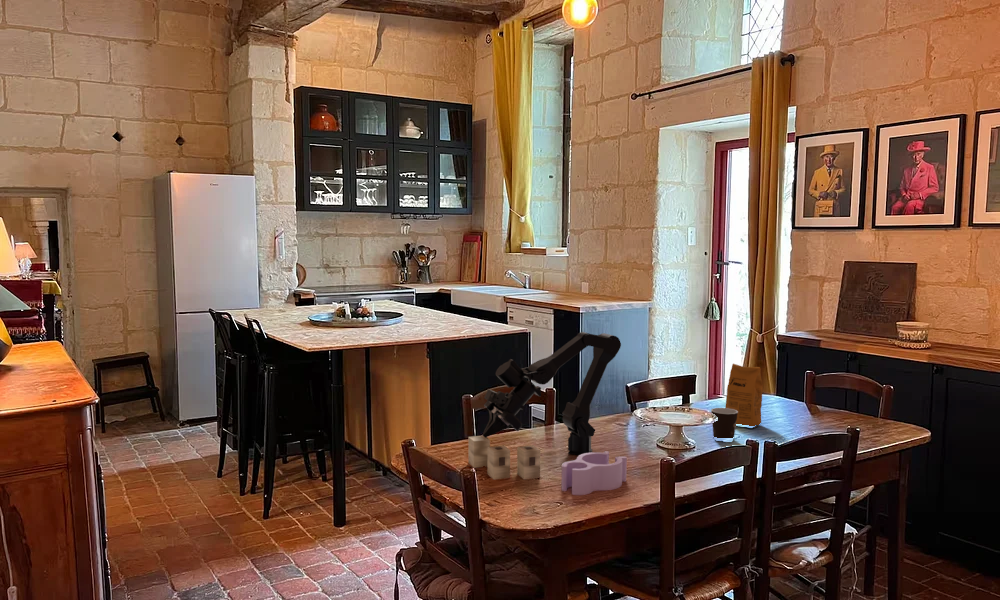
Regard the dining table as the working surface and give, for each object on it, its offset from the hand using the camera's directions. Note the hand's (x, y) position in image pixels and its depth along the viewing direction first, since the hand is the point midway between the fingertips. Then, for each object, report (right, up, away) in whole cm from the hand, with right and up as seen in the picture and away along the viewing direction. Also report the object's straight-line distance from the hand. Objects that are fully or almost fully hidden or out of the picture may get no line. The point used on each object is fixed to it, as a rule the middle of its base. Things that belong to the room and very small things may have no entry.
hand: (483, 436), depth 222 cm
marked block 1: (+4, -9, -10) cm, 15 cm away
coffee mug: (+81, -6, +29) cm, 86 cm away
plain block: (-1, -8, 0) cm, 9 cm away
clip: (+30, -11, -17) cm, 37 cm away
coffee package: (+93, -5, +48) cm, 105 cm away
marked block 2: (+13, -9, -10) cm, 19 cm away
